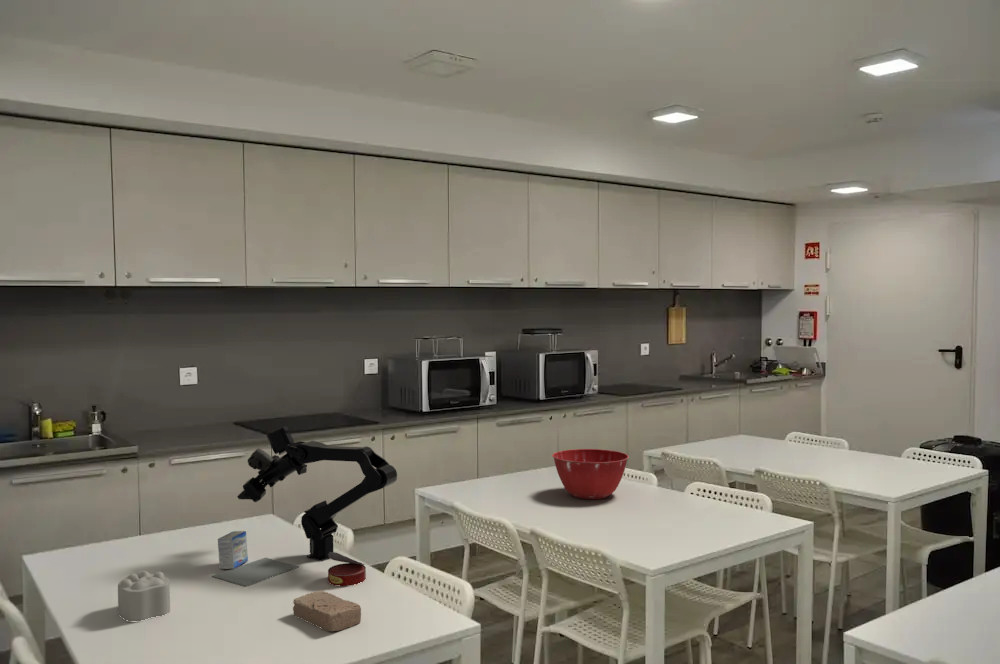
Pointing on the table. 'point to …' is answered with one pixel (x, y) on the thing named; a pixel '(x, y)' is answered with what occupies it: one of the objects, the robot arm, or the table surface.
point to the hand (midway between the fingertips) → (245, 490)
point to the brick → (327, 611)
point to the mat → (255, 571)
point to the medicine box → (232, 550)
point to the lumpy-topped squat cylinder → (143, 596)
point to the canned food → (345, 571)
